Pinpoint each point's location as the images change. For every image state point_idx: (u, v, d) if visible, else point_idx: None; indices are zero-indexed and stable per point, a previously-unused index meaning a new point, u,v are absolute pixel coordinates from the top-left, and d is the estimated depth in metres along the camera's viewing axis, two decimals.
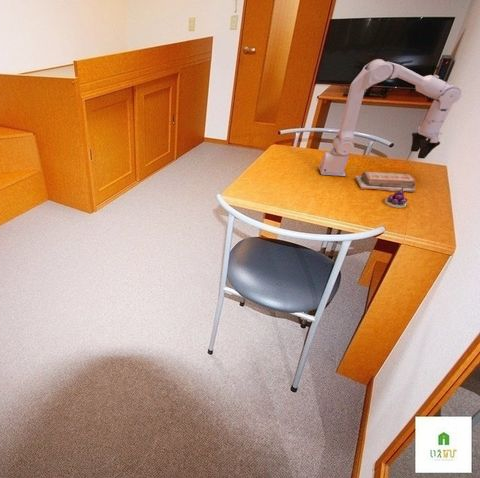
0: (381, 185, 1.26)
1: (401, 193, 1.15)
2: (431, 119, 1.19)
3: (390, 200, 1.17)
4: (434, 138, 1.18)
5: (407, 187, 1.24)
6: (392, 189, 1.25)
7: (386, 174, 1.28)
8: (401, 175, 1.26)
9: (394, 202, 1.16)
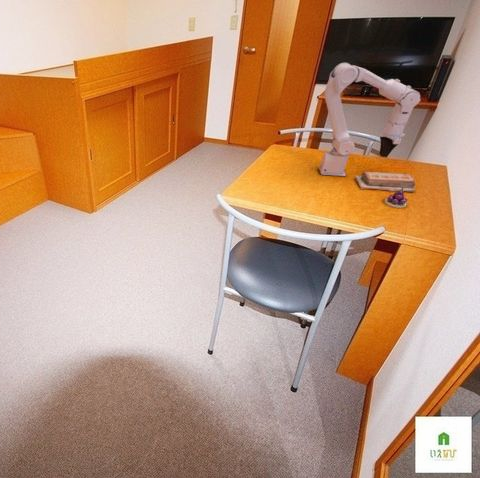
0: (381, 185, 1.27)
1: (401, 193, 1.15)
2: (394, 122, 1.24)
3: (390, 200, 1.17)
4: (396, 140, 1.23)
5: (407, 187, 1.24)
6: (392, 189, 1.25)
7: (386, 174, 1.28)
8: (401, 175, 1.26)
9: (394, 202, 1.16)
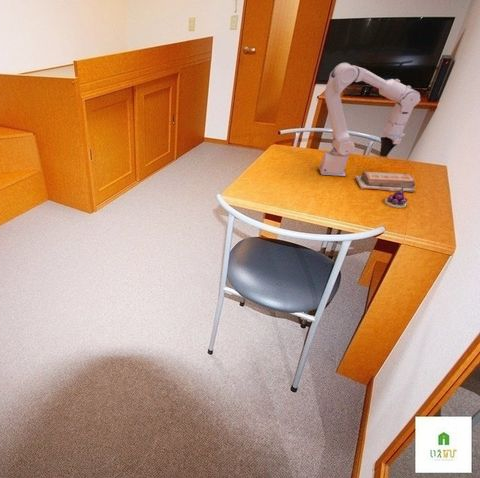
0: (381, 185, 1.27)
1: (401, 193, 1.15)
2: (394, 122, 1.24)
3: (390, 200, 1.17)
4: (396, 140, 1.23)
5: (407, 187, 1.24)
6: (392, 189, 1.25)
7: (386, 174, 1.28)
8: (401, 175, 1.26)
9: (394, 202, 1.16)
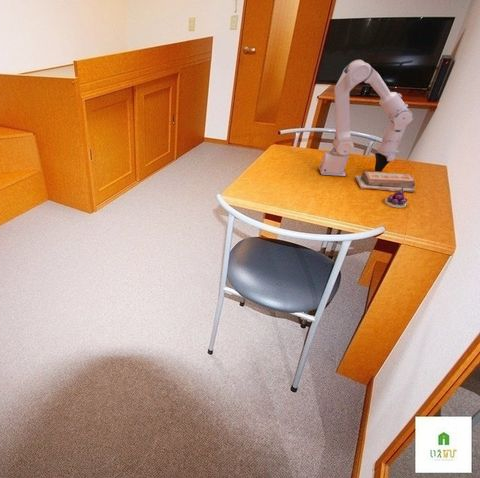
0: (381, 185, 1.27)
1: (401, 193, 1.15)
2: (387, 139, 1.27)
3: (390, 200, 1.17)
4: (390, 157, 1.26)
5: (407, 187, 1.24)
6: (392, 189, 1.25)
7: (386, 174, 1.28)
8: (401, 175, 1.26)
9: (394, 202, 1.16)
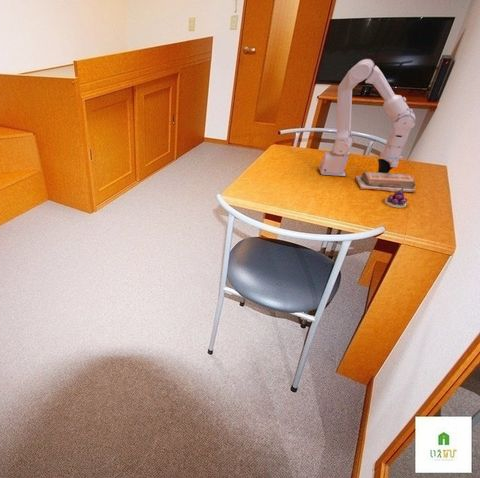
0: (381, 185, 1.26)
1: (401, 193, 1.15)
2: (389, 144, 1.24)
3: (390, 200, 1.17)
4: (393, 163, 1.23)
5: (407, 187, 1.24)
6: (392, 189, 1.25)
7: (386, 174, 1.27)
8: (401, 175, 1.26)
9: (394, 202, 1.16)
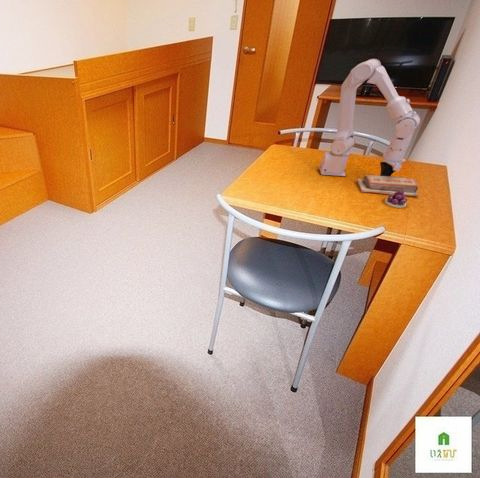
0: (382, 189, 1.24)
1: (401, 193, 1.15)
2: (390, 146, 1.22)
3: (390, 200, 1.17)
4: (396, 166, 1.20)
5: (409, 191, 1.22)
6: None
7: (388, 178, 1.25)
8: (404, 179, 1.23)
9: (394, 202, 1.16)
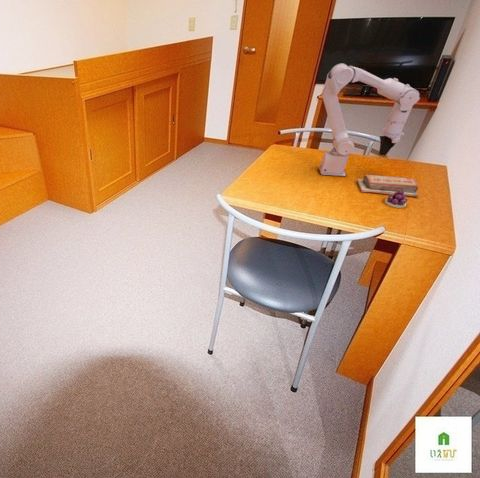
0: (382, 189, 1.24)
1: (401, 193, 1.15)
2: (393, 120, 1.24)
3: (390, 200, 1.17)
4: (395, 139, 1.23)
5: (409, 191, 1.21)
6: None
7: (388, 178, 1.25)
8: (404, 179, 1.23)
9: (394, 202, 1.16)
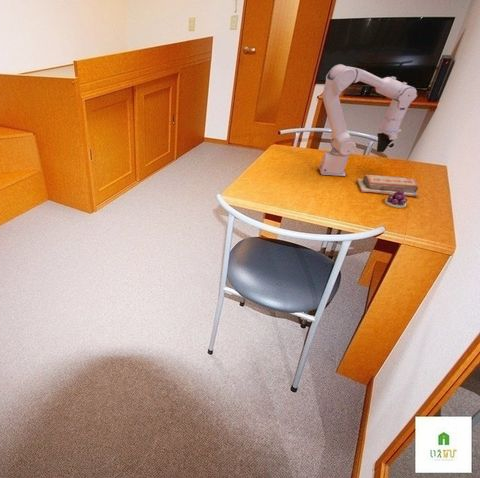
0: (382, 189, 1.24)
1: (401, 193, 1.15)
2: (392, 118, 1.25)
3: (390, 200, 1.17)
4: (392, 135, 1.24)
5: (409, 191, 1.22)
6: (393, 193, 1.23)
7: (388, 178, 1.25)
8: (404, 179, 1.23)
9: (394, 202, 1.16)
